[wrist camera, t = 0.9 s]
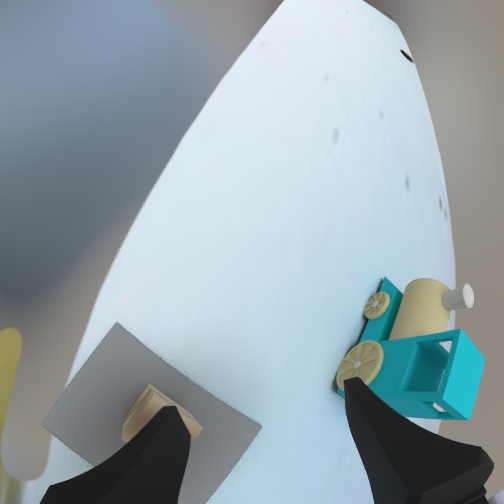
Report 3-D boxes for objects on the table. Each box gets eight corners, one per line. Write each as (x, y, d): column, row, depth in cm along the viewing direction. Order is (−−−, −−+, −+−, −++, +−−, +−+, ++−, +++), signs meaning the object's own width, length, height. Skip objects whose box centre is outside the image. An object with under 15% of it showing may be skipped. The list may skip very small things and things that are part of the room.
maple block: (161, 440, 22) (171, 470, 16) (124, 415, 22) (121, 439, 15) (185, 408, 24) (203, 428, 17) (148, 382, 24) (153, 395, 17)
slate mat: (191, 516, 20) (192, 519, 20) (42, 422, 19) (40, 424, 18) (260, 425, 26) (262, 426, 26) (117, 322, 25) (116, 321, 24)
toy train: (409, 306, 39) (497, 281, 26) (368, 413, 31) (471, 422, 18) (376, 274, 38) (468, 237, 25) (326, 388, 30) (438, 395, 17)
